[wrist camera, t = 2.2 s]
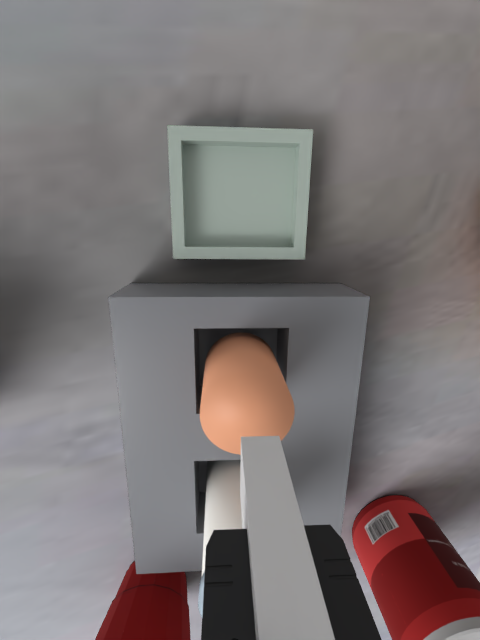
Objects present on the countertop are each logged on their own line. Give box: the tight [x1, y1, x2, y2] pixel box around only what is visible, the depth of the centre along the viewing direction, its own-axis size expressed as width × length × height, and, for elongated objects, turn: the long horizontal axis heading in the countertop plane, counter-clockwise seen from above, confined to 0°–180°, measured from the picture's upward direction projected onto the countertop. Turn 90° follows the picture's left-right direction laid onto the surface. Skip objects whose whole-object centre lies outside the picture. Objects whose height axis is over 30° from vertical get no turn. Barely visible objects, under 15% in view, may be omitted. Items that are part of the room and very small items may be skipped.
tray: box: [167, 125, 313, 259], centre depth 22 cm, size 9×8×2 cm
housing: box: [108, 283, 370, 574], centre depth 25 cm, size 16×22×5 cm
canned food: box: [352, 495, 480, 640], centre depth 27 cm, size 8×8×11 cm
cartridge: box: [198, 460, 242, 617], centre depth 22 cm, size 5×5×11 cm
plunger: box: [200, 332, 295, 455], centre depth 19 cm, size 5×5×6 cm
